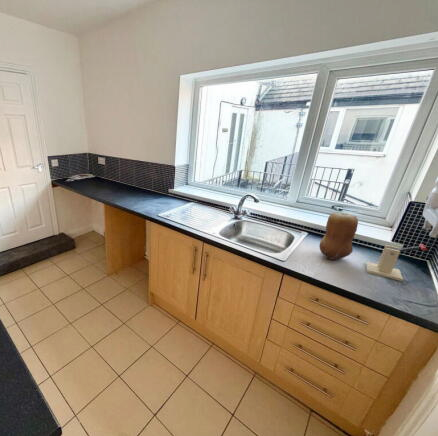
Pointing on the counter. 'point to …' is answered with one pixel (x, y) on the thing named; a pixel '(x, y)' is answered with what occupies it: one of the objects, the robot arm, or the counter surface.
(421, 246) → the lever
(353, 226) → the butternut squash
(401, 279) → the stand
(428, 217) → the robot arm
